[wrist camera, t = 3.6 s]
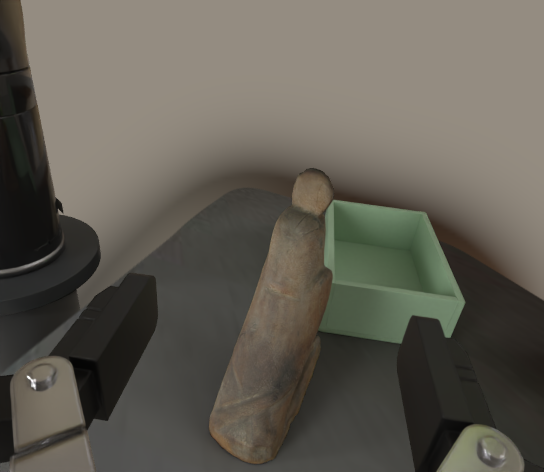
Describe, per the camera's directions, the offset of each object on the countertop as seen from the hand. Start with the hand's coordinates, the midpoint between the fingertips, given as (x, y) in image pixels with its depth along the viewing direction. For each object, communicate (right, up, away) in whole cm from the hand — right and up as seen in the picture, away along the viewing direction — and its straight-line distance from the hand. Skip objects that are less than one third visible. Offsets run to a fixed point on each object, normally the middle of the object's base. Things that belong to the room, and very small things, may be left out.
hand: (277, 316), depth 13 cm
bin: (+10, -3, +31) cm, 32 cm away
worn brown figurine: (0, -9, +18) cm, 21 cm away
